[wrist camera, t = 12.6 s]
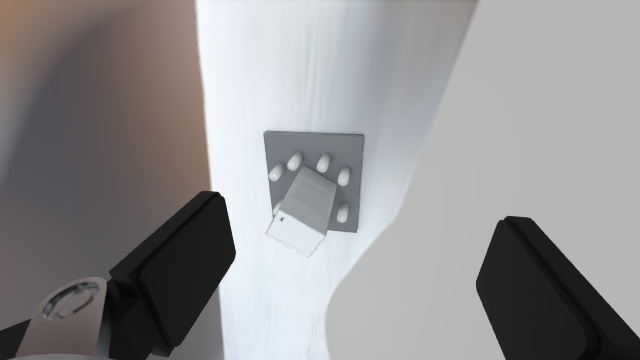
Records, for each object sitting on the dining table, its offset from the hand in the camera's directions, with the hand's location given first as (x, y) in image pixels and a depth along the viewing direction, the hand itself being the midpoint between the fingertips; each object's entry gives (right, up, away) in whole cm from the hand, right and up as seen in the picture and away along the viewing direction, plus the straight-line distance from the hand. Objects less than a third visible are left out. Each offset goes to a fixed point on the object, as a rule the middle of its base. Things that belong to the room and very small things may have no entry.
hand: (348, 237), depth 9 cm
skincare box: (-2, +1, +31) cm, 31 cm away
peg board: (-2, +2, +32) cm, 32 cm away
